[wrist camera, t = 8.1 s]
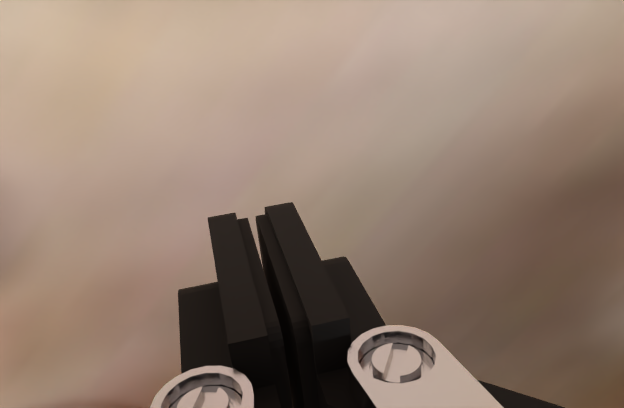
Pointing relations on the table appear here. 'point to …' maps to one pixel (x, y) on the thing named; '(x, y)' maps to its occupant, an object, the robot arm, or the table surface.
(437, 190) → the table surface
